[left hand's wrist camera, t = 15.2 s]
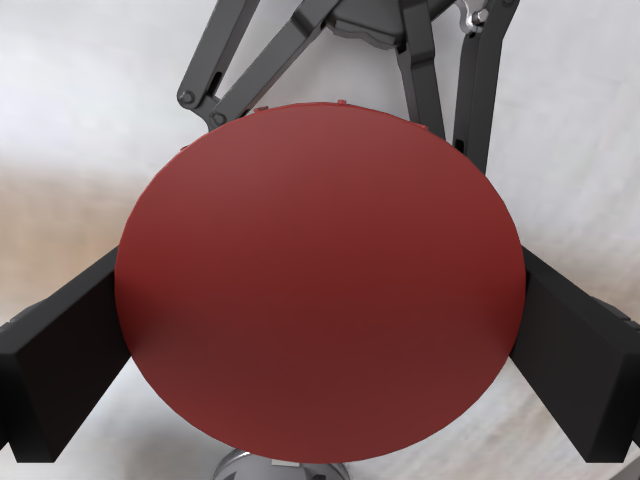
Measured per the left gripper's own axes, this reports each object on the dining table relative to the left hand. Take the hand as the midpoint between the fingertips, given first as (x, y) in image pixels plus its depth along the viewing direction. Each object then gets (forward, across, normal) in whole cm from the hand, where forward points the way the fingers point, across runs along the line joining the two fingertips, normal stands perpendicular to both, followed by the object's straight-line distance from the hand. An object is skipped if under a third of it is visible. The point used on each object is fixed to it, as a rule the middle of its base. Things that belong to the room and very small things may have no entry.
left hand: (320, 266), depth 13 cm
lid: (-3, 0, 0) cm, 3 cm away
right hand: (+10, -1, -4) cm, 11 cm away
